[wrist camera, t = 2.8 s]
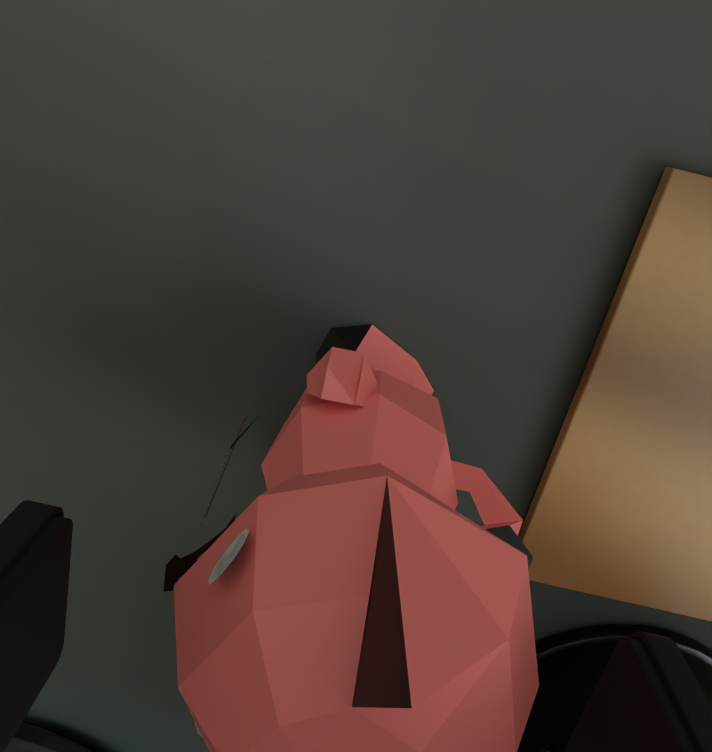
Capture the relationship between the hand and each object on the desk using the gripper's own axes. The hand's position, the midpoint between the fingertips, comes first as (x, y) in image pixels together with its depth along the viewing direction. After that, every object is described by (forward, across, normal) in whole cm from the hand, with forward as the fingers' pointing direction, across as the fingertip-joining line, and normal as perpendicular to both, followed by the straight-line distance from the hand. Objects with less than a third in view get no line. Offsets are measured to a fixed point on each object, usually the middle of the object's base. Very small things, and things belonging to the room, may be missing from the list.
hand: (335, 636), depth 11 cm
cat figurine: (+8, -1, 0) cm, 8 cm away
